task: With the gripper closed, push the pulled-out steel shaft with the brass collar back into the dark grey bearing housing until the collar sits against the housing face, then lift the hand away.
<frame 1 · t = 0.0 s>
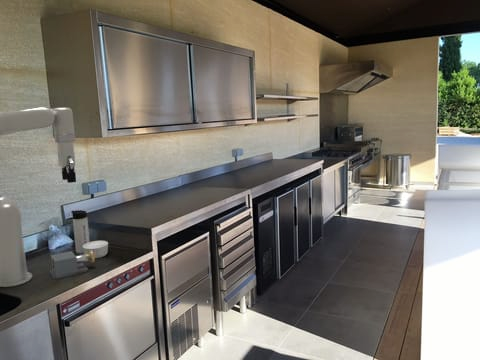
hand: (69, 180, 169), 37 cm above the counter, tool pointing down, fingers open, 9 cm apart
bearing housing: (65, 272, 168), on the counter
travel mug: (83, 252, 193), on the counter
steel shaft: (78, 259, 171), point 4 cm above the counter, slide at 6.0 cm
ramekin: (96, 255, 189), on the counter
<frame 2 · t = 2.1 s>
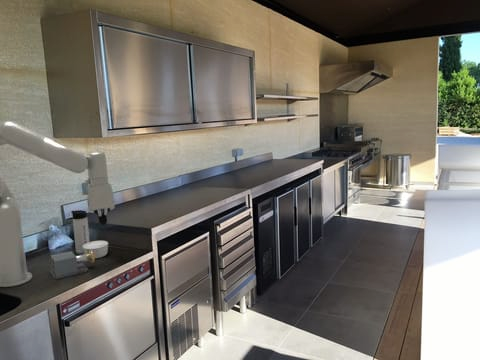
hand: (103, 224, 174), 17 cm above the counter, tool pointing down, fingers closed
nothing on the counter moved.
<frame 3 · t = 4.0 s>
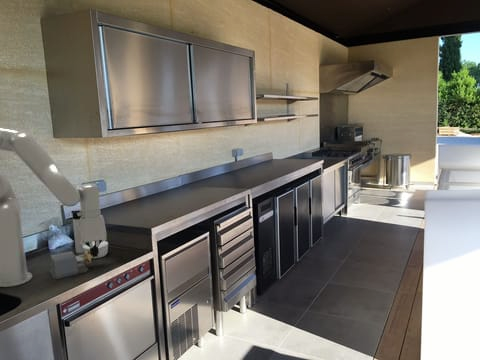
hand: (94, 255, 174), 4 cm above the counter, tool pointing down, fingers closed
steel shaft: (75, 259, 170), point 4 cm above the counter, slide at 4.6 cm, touching gripper
everything else where it was.
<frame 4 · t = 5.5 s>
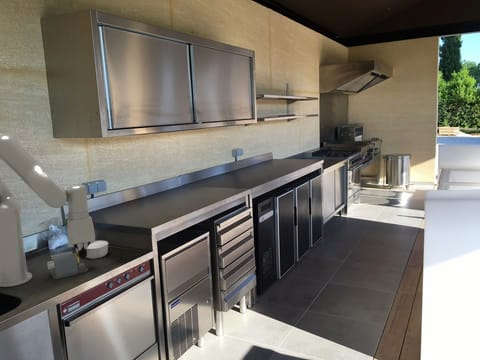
hand: (83, 257, 172), 5 cm above the counter, tool pointing down, fingers closed
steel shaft: (63, 262, 167), point 4 cm above the counter, slide at 0.0 cm, touching gripper
everything else where it was.
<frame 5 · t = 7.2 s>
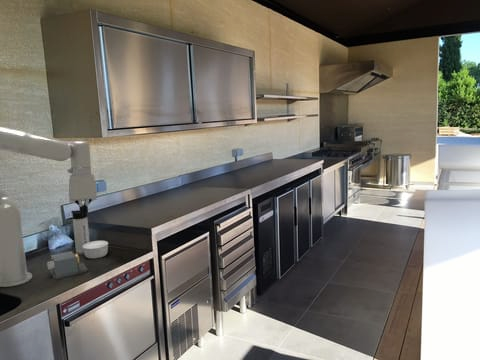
hand: (84, 215, 171), 22 cm above the counter, tool pointing down, fingers closed
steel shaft: (63, 262, 167), point 4 cm above the counter, slide at 0.0 cm
everything else where it was.
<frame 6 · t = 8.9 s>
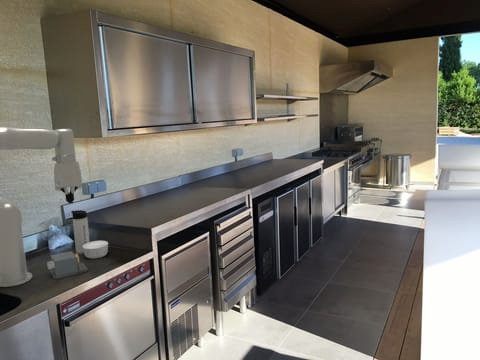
hand: (70, 202, 173), 27 cm above the counter, tool pointing down, fingers closed
nothing on the counter moved.
at the end: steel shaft slide at 0.0 cm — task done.
